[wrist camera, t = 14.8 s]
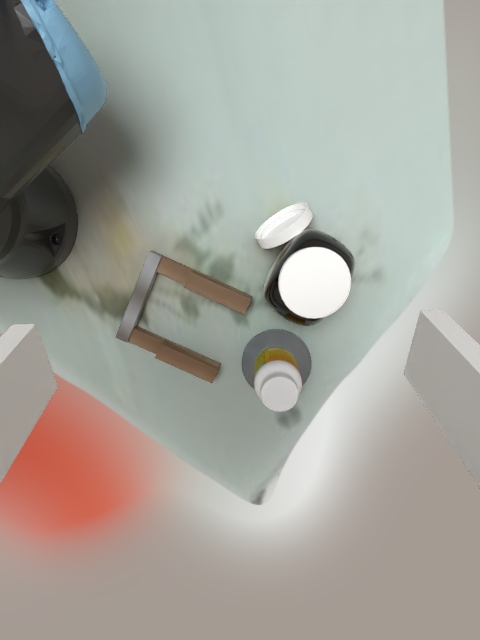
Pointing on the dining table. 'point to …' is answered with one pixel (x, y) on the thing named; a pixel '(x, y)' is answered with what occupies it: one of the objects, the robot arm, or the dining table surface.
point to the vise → (192, 281)
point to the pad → (276, 339)
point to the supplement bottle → (277, 378)
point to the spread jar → (304, 267)
